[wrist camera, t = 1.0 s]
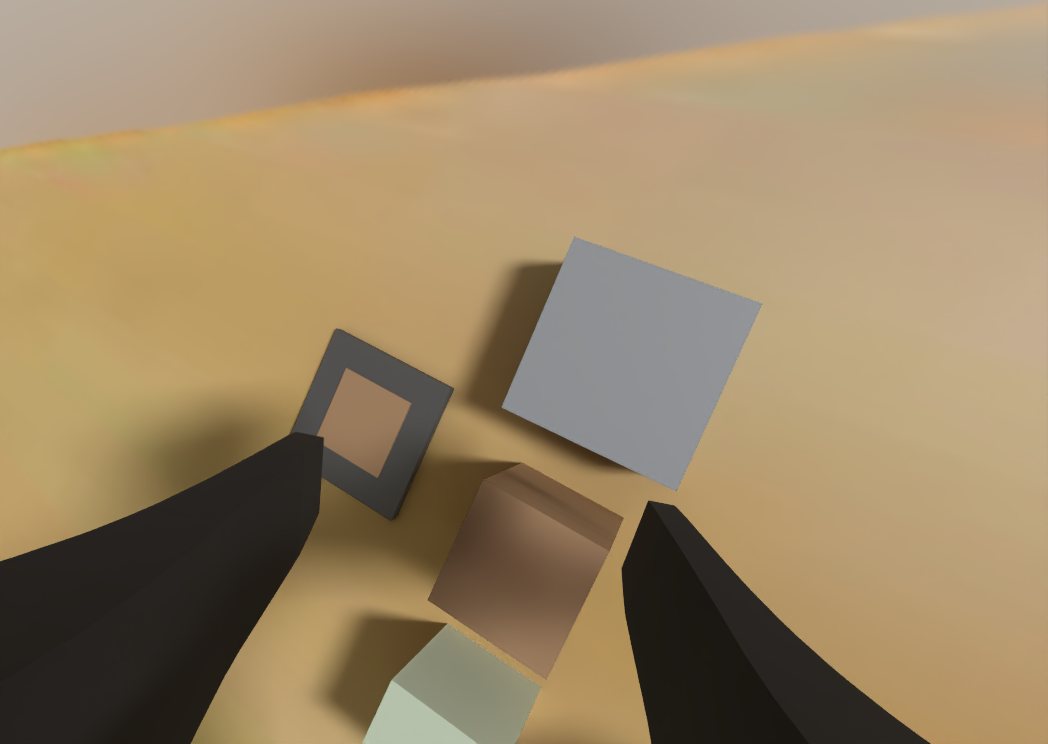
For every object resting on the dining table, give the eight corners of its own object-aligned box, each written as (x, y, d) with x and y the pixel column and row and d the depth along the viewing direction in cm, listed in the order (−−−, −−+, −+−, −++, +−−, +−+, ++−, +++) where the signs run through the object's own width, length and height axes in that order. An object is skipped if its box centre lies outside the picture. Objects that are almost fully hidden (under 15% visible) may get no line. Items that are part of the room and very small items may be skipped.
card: (395, 518, 25) (389, 521, 24) (288, 451, 27) (281, 452, 26) (454, 388, 24) (449, 388, 24) (341, 329, 26) (334, 328, 26)
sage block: (494, 781, 23) (447, 884, 18) (405, 714, 24) (339, 792, 19) (541, 686, 22) (506, 764, 18) (448, 622, 24) (391, 679, 19)
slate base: (675, 474, 21) (676, 491, 18) (529, 405, 23) (501, 407, 20) (745, 320, 21) (762, 303, 17) (590, 263, 23) (574, 236, 19)
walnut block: (574, 619, 22) (546, 680, 17) (477, 558, 24) (427, 600, 19) (623, 517, 22) (609, 551, 17) (523, 462, 23) (483, 479, 18)
